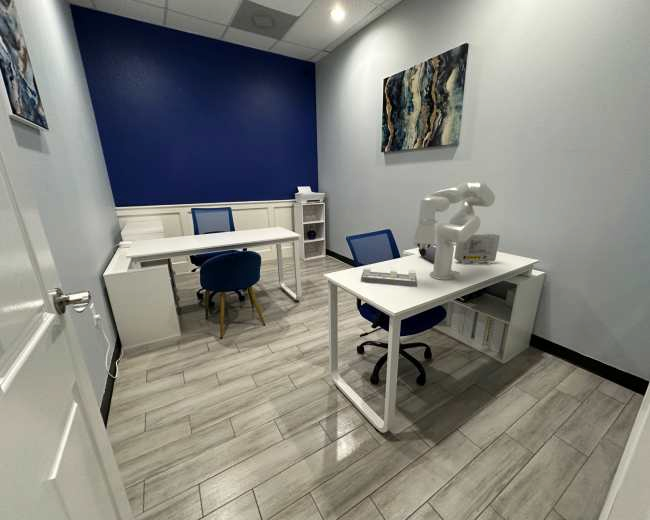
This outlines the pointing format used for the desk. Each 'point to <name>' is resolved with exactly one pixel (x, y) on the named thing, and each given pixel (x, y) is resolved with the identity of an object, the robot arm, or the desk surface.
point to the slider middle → (393, 273)
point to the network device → (477, 249)
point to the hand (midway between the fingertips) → (422, 255)
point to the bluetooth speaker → (429, 253)
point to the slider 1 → (366, 270)
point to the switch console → (389, 279)
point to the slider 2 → (412, 274)
